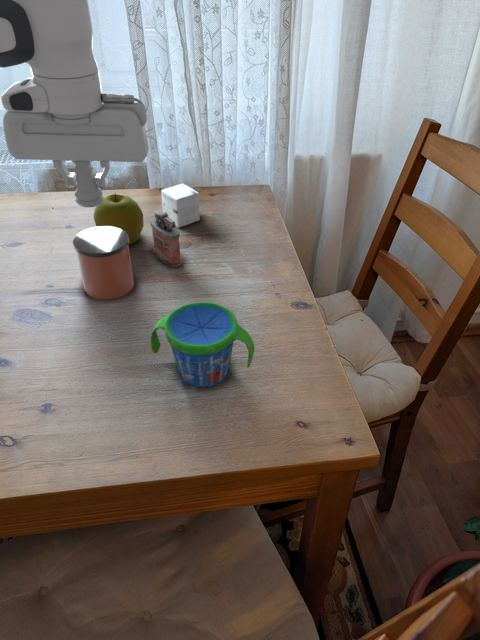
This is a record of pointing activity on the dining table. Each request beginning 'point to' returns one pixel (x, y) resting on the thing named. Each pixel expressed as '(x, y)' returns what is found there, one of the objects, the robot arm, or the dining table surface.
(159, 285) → the dining table surface
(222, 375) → the snack cup
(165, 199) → the white cardboard box
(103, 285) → the canister
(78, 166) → the rook chess piece
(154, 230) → the lighter
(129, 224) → the apple
